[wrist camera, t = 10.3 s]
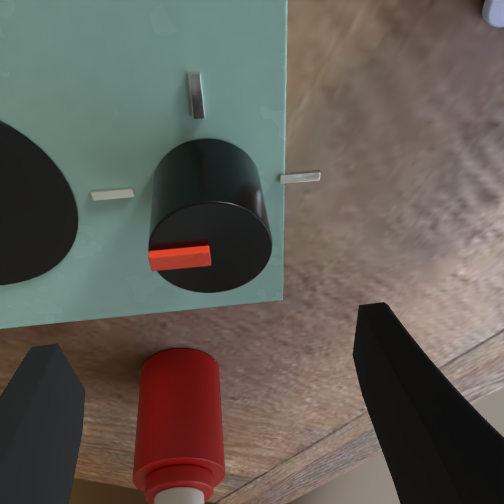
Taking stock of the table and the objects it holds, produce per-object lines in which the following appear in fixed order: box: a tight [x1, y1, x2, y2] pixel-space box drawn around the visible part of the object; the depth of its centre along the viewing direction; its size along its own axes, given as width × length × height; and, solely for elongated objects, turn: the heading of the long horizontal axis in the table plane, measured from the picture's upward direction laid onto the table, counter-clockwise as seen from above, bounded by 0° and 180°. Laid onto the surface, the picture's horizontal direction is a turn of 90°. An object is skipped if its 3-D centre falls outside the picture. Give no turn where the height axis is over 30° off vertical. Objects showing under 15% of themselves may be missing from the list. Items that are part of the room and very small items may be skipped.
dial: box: [148, 138, 273, 293], centre depth 15 cm, size 4×4×4 cm
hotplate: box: [0, 0, 321, 329], centre depth 17 cm, size 16×13×2 cm
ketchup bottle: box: [133, 349, 225, 504], centre depth 24 cm, size 4×4×8 cm
